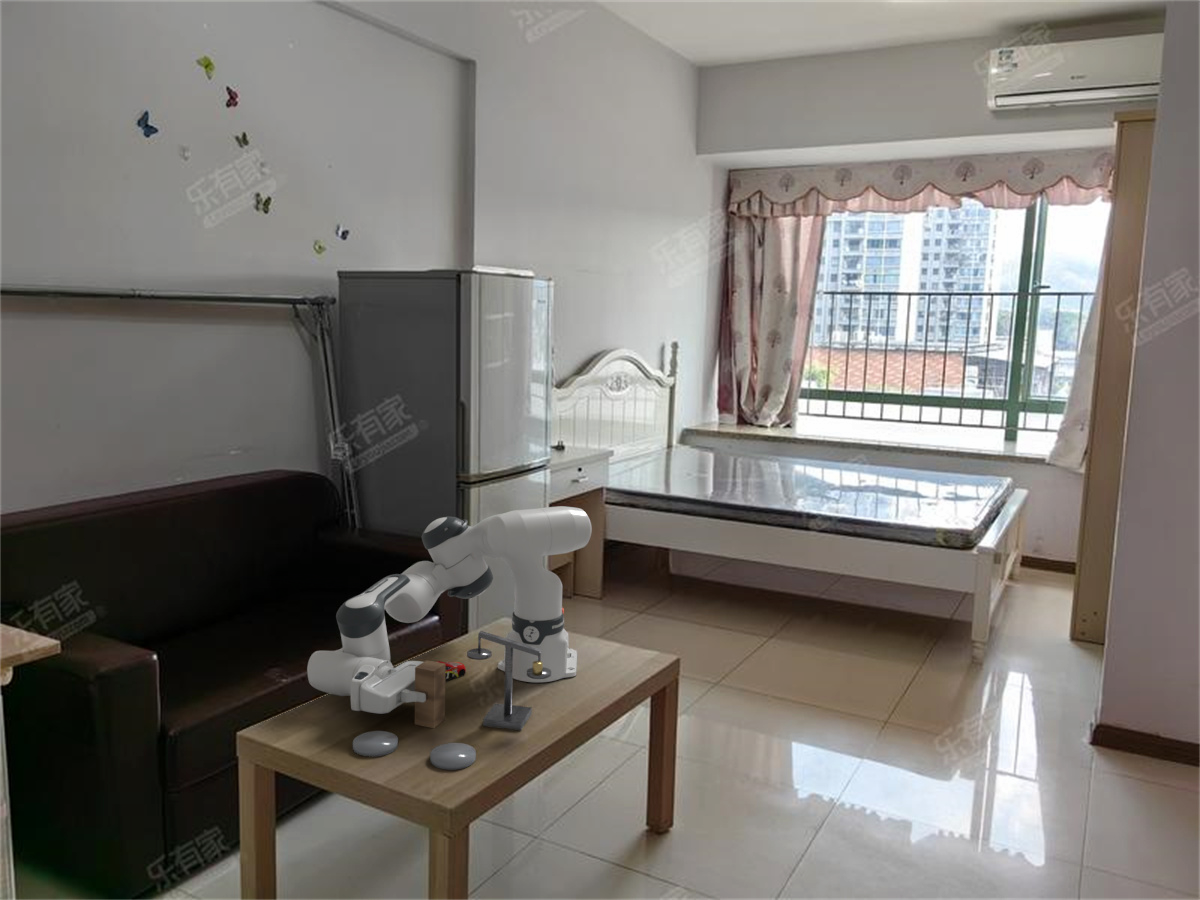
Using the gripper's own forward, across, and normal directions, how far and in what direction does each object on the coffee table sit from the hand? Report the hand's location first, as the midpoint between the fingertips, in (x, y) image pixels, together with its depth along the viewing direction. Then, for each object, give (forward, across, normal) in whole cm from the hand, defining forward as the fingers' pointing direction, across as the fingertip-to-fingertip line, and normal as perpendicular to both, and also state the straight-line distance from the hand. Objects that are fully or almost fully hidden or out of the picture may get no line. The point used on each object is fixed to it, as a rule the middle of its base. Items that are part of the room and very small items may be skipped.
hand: (434, 692), depth 190 cm
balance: (+13, -8, -6) cm, 16 cm away
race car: (-11, -21, -7) cm, 25 cm away
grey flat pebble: (+11, +12, -7) cm, 18 cm away
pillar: (-1, 0, -6) cm, 7 cm away
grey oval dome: (-5, +14, -6) cm, 16 cm away
